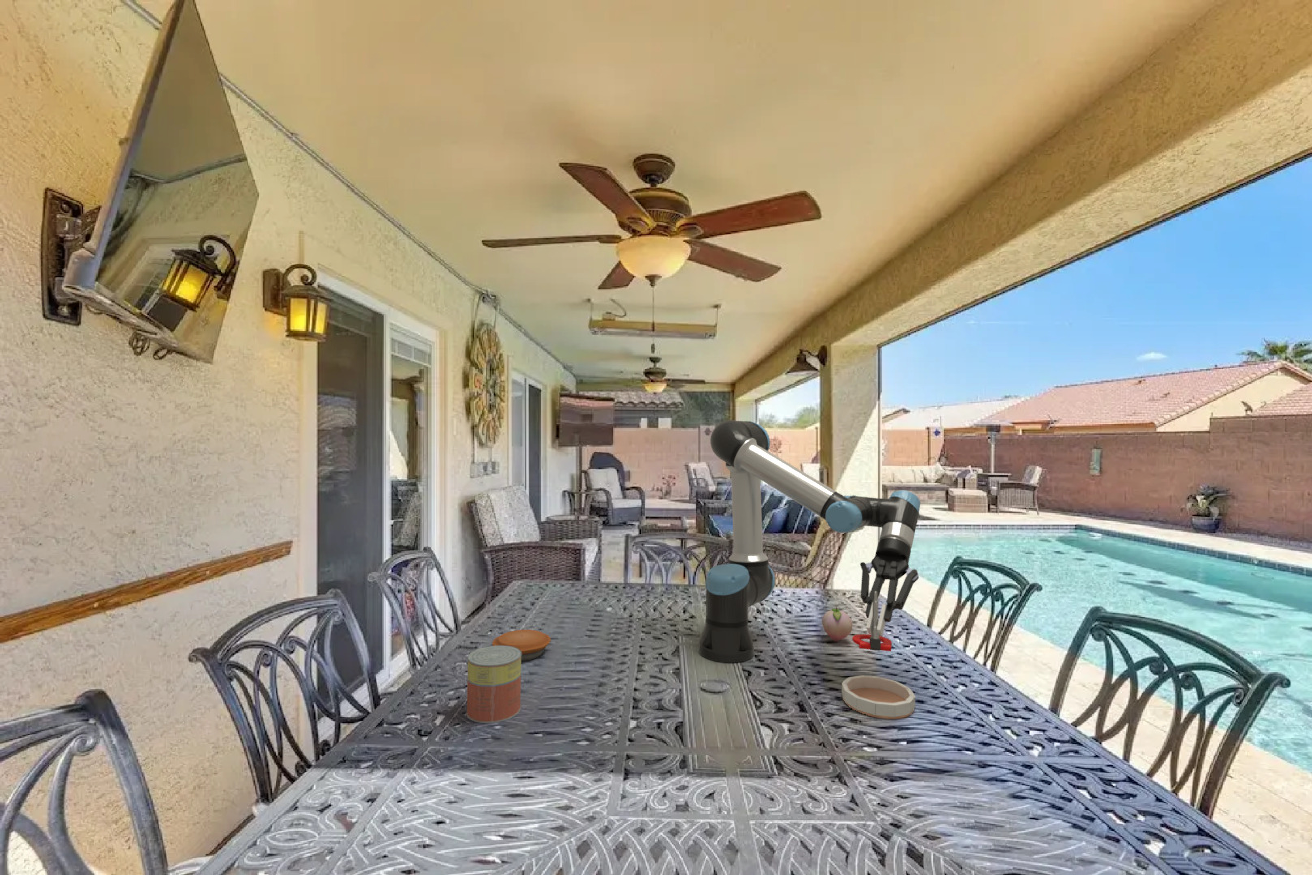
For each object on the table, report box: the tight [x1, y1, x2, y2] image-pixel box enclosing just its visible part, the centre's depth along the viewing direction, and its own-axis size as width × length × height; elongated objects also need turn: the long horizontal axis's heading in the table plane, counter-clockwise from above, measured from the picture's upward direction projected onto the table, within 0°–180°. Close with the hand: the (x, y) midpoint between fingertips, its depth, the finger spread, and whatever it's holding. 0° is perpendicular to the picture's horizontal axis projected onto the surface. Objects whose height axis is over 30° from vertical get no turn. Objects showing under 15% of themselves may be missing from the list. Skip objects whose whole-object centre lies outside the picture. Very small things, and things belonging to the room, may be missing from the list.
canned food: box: [465, 645, 522, 724], centre depth 124 cm, size 11×11×12 cm
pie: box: [491, 629, 552, 662], centre depth 157 cm, size 16×16×5 cm
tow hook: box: [852, 591, 893, 652], centre depth 131 cm, size 8×13×9 cm
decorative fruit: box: [821, 606, 853, 642], centre depth 170 cm, size 9×8×10 cm
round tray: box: [841, 674, 916, 720], centre depth 130 cm, size 15×15×3 cm
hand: (874, 631), depth 127 cm, fingers closed on tow hook, 1 cm apart
